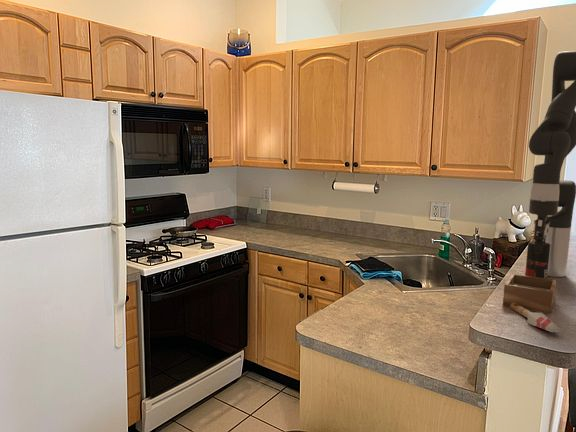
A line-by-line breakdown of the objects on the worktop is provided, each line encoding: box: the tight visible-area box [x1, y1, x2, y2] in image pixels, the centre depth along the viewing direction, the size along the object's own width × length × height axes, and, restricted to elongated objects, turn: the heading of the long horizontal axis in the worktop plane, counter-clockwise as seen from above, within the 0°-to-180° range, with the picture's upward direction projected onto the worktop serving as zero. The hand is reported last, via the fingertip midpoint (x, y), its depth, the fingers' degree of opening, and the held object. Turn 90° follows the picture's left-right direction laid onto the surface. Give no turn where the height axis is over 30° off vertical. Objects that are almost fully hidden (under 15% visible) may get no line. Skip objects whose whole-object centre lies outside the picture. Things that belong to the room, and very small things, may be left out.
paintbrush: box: [510, 303, 563, 333], centre depth 112 cm, size 4×3×20 cm
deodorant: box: [524, 240, 550, 279], centre depth 137 cm, size 6×6×15 cm
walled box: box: [502, 273, 557, 315], centre depth 126 cm, size 14×12×6 cm
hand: (539, 251), depth 136 cm, fingers open, 8 cm apart
